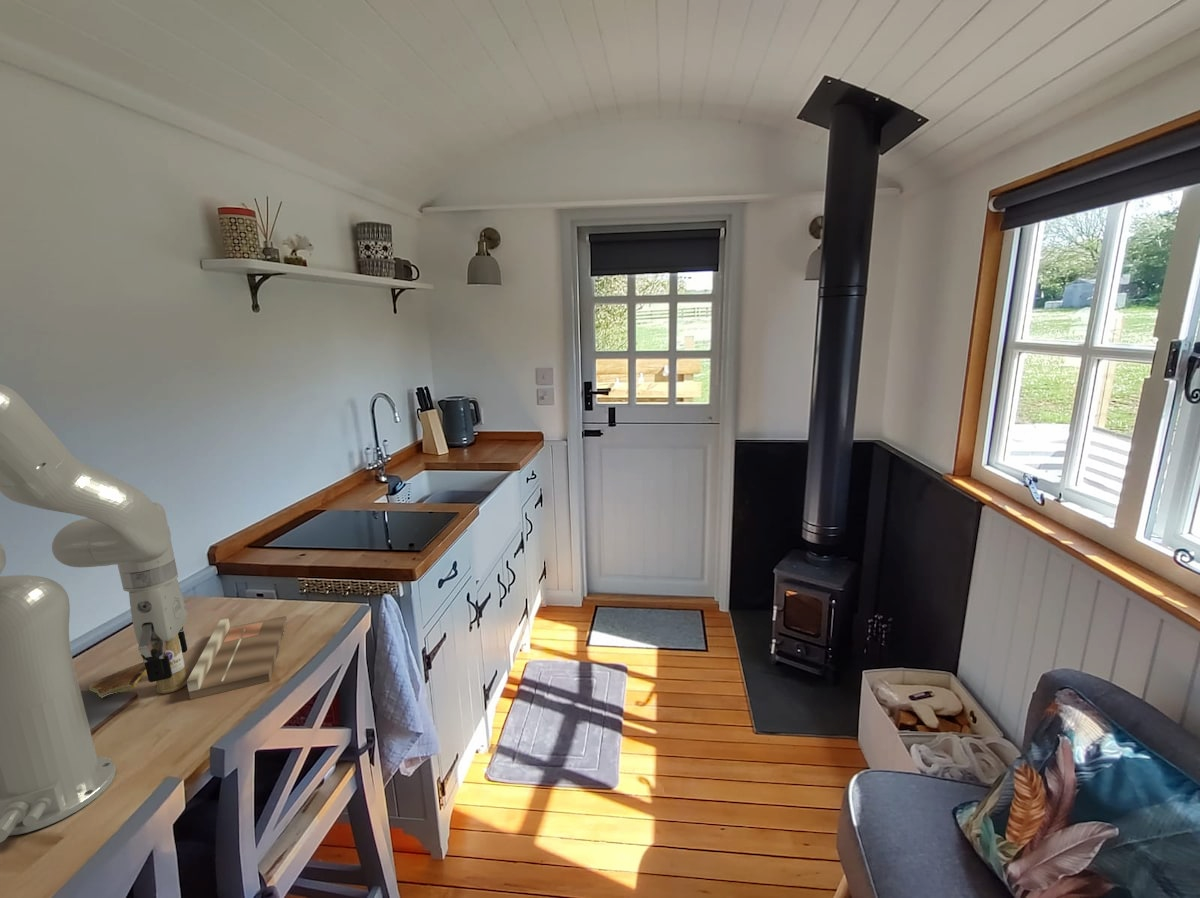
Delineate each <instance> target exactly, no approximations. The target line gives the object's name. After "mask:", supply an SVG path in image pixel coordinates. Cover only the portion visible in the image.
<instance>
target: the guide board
mask: <svg viewBox="0 0 1200 898" xmlns="http://www.w3.org/2000/svg"><path fill="white" fill-rule="evenodd" d="M286 620H287V621H288V619H287V616H286V615H285V616H280V617H274V618H270V619H265V620H260V621H259V620H258V621H254V622H250V623H249V622H248V623H243V624H238V625H233V626H231V625H230V623H231V622H230V620H229V618H223V619H219V621H218V623H217V625H216V627H215V629H214V630H213V632H212V634H211V636H210V638H209V639H208V641H207V643H206V645H205V647H204V648H203V651H202V652H201V654H200V656H199V657H198V660H197V661H196V664H195V666H194V667H193V669H192V670H191V673H190V675H189V676H188V677H187V679H188V680H187V684H186V685H187V689H188V695H189V699H190V700H194V699H199V698H204V697H207V696H211V695H216V694H220V693H224V692H228V691H234V690H236V689H242V688H245V687H247V688H248V687H251V686H254V685H258V684H259V685H260V684H263V683H268V682H270V681H271V677H272V674H273V671H274V669H275V664H276V660H277V657H278V654H279V651H280V648H281V645H280V644H282V641H283V638H282V636H283V637H284V634H283V632H284V633H285V631H284V628H285V624H286ZM286 625H287V624H286ZM285 629H286V628H285ZM281 640H282V641H281Z"/></svg>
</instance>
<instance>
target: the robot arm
mask: <svg viewBox="0 0 1200 898" xmlns="http://www.w3.org/2000/svg"><path fill="white" fill-rule="evenodd" d="M0 493H1V494H2V495H3V496H4V497H6V498H7V499H9V500H11V501H13V502H16V503H18V504H21V505H25V506H29V507H33V508H36V509H42V510H47V511H53V512H60V513H65V514H71V515H75V516H80V517H84V518H81V519H78V520H74V521H72V522H71V523H68V524H67V525H65V526H64V527H62V528H61V529H60V530H59V531H58V532H57V533H56V535H55V536H54V538H53V540H52V544H51V551H52V555H53V557H54V558H55V559H56V560H57V561H58V562H59V563H61V564H62V565H65V566H68V567H72V568H93V567H106V566H107V567H108V566H113V565H115V566H117V567H118V571H119V576H120V577H119V578H120V580H121V581H120V582H121V584H122V590H123V591H124V592H128V596H129V605H130V606H129V607H130V613H131V614H130V615H131V620H132V624H133V631H134V634H135V638H136V639H135V640H136V642H137V644H138V652H140V656H141V658H142V662H144V663H145V667H146V672H147V674H146V675H147V680H148V682H149V683H154V682H156V681H160V680H164V679H169V678H171V676H172V671H171V666H170V662H169V657H168V655H167V656H165V647H166V641H167V640H168V641H172V640H173V639H174V638H175V637H176V635H177V634H178V637H179V640H180V645H181V649H182V654H185V653H186V652H187V651H188V644H187V640H186V636H185V631H184V625H185V623H186V622H187V619H188V611H187V609H186V605H185V604H186V603H185V600H184V596H183V593H182V589H181V586H180V583H179V580H178V578H179V574H178V569H177V564H176V558H175V554H174V549H173V544H172V540H171V539H172V538H171V536H172V535H171V531H170V527H169V526H170V525H169V524H168V520H167V514H166V511H165V508H164V507H163V506H162V504H160V503H158V502H154V501H152V500H151V499H150V497H148V496H147V495H146V494H145V493H144V492H142V490H139V489H138V488H137V487H135V486H134V485H132V484H130V483H128V482H127V481H124V480H122V479H119V478H118V477H115V476H113V475H111V474H109V473H107V472H105V471H102V470H100V469H98V468H96V467H94V466H91V465H88V464H85V463H83V462H81V461H80V460H78V459H77V458H76V457H75V456H74V455H73V454H72V453H71V451H69V449H68V448H67V446H66V445H65V444H63V443H62V441H61V440H60V439H59V438H58V437H57V435H56V434H55V433H54V432H53V431H52V430H51V429H50V428H49V426H48V425H47V424H46V423H45V422H44V421H43V420H42V419H41V418H40V416H39V415H37V413H36V411H34V410H33V408H32V407H31V406H30V405H29V404H28V403H27V402H26V400H25V399H24V398H23V397H22V396H20V394H19V393H18V392H16V391H15V390H13V389H12V388H10V387H8V386H7V385H4V384H2V383H0ZM6 562H7V555H6V551H5V548H4V547H3V545H2V543H1V542H0V575H1V574H2V572H3V571H4V569H5V567H6ZM70 609H71V605H70V599H69V595H68V592H67V590H66V589H65V588H64V587H63V586H62V585H61V584H60V583H58V582H57V581H55V580H53V579H51V578H47V577H43V576H39V575H27V574H26V575H24V574H23V575H22V574H21V575H18V574H17V575H3V576H0V843H2V842H4V841H5V840H6V839H7V838H8V837H9V836H17V835H22V834H27V833H30V832H31V833H32V832H33V831H37V830H39V829H43V828H45V827H47V826H50V825H53V824H55V823H57V822H59V821H62V820H63V819H65V818H68V817H69V816H71V815H73V814H74V813H76V812H79V811H80V810H81V809H83V808H84V807H86V806H87V805H89V804H90V803H91V802H92V801H94V800H95V799H97V798H98V797H99V796H100V795H101V794H103V792H104V791H105V790H106V789H107V788H108V787H109V786H110V785H111V783H112V782H113V780H114V779H115V776H116V774H117V773H116V772H117V771H116V765H115V763H114V761H113V760H112V759H111V758H109V757H106V756H100V755H97V753H96V748H95V744H94V740H93V735H92V733H91V728H90V724H89V721H88V716H87V712H86V709H85V704H84V700H83V695H82V691H81V689H80V685H79V680H78V676H77V673H76V670H75V668H76V667H75V665H74V660H73V656H72V650H71V648H72V647H71V642H70V617H71V616H70V613H71V612H70V611H71V610H70ZM158 637H159V638H160V640H155V641H152V639H153V638H158ZM154 645H159V651H158V650H157V649H153V647H152V646H154Z"/></svg>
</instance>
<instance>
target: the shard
mask: <svg viewBox="0 0 1200 898" xmlns="http://www.w3.org/2000/svg"><path fill="white" fill-rule="evenodd" d="M146 675H147V672H146V667H145V663H144V662H143V661H142V662H139V663H138V664H134V665H132V666H129V667H126V668H125V669H121V670H119V671H117V672H114V673H112V674H110V675H108V676H105V677H103V678H101V679H98V680H96V681H94V682H92V683H91V684H90V685H89V686H88V689H89V691H91V692H92V691H93V692H95V693H98V695H100V696H101V697H102V696H104V695H106V694H109V693H115V692H120V693H124V692H127V691H133V690H134V688H135V687H136V686H137V684H138V682H140V681H141V679H142V678H143V677H145V676H146ZM93 692H92V693H93ZM95 693H94V694H95Z"/></svg>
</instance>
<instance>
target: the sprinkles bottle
mask: <svg viewBox="0 0 1200 898" xmlns="http://www.w3.org/2000/svg"><path fill="white" fill-rule="evenodd" d="M155 640H160V638H159V637H158V638H153V639H152V641H155ZM152 647H153V649H157V650H158V651H159V645H154V646H152ZM183 654H184V653H182V649H181V645H180V640H179V637H178V634H177V635H176V637H175V638H174V639H173V640H172V641H168V640H167V641H166V647H165V656H167V655H168V657H169V662H170V666H171V671H172V676H171V678H169V679H164V680H160V681H155V682H156V687H157V688H156V691H157V692H158V694H170V693H173V692H176V691H178V690H180V689H182V688H184V687H186V685H187V680H188V677H187V672H186V667H185V666H186V665H185V660H184V656H183Z"/></svg>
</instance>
